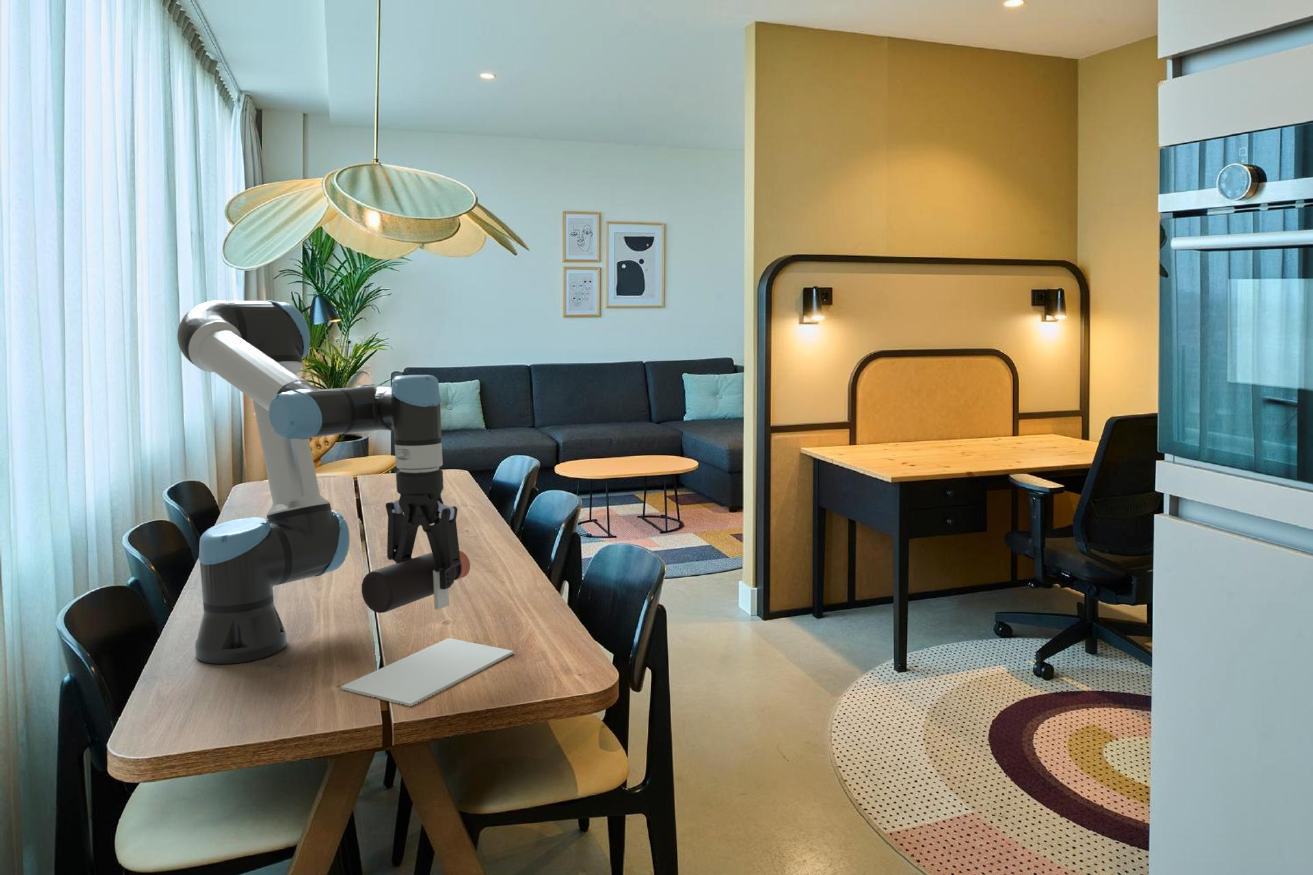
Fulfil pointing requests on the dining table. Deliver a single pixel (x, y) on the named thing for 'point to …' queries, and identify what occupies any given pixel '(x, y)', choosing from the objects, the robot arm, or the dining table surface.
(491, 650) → the mat
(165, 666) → the dining table surface
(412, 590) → the vinegar
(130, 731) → the dining table surface
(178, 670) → the dining table surface
